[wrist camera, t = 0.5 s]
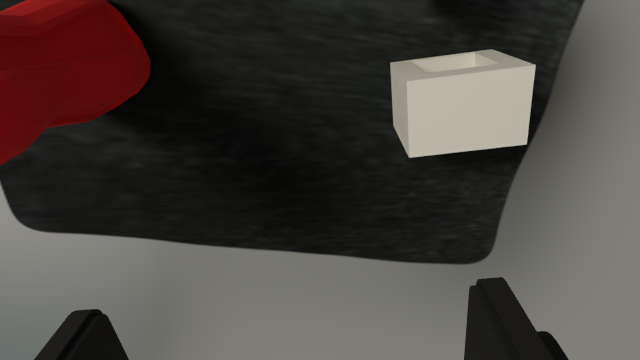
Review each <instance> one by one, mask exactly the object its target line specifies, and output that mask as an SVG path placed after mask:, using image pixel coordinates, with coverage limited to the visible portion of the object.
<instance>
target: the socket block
mask: <svg viewBox="0 0 640 360" xmlns="http://www.w3.org/2000/svg"><path fill="white" fill-rule="evenodd" d="M390 66H391V86H392V107H393V126H394V128H395V130H396V132H397V134H398V136H399V138H400V140H401V142H402V144H403V146H404V148H405V150H406V152H407V154H408V156H409V158H411V157H420V156H429V155H438V154H446V153H455V152H464V151H473V150H482V149H491V148H500V147H508V146H517V145H526V144H527V138H528V129H529V120H530V111H531V102H532V93H533V84H534V75H535V66H536V65H534V64H531V63H528V62H526V61H523V60H520V59H517V58H515V57H512V56H509V55H506V54H504V53H501V52H498V51H495V50H492V49H491V50H483V51H475V52H468V53H460V54H452V55H445V56H437V57H429V58H422V59H414V60H407V61H399V62H391V63H390Z"/></svg>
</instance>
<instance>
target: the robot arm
mask: <svg viewBox="0 0 640 360" xmlns="http://www.w3.org/2000/svg"><path fill="white" fill-rule="evenodd" d="M34 360H129V359H128V357H127V355H126V353H125V351H124V349H123V347H122V345H121V343H120V341H119V339H118V337H117V334H116V332H115V330H114V328H113V326H112V324H111V322H110V320H109V318H108V317H107V316H106V315H105V314H103V313H102V312H101V311H100V310H98V309H91V310H78V311H74V312H72V313H71V314H70V315H69V316H68V317H67V318H66V319H65V321H64V322H63V323H62V325H61V326H60V327H59V328H58V330H57V331H56V332H55V334H54V335H53V336H52V338H51V339H50V340H49V341H48V343H47V344H46V345H45V346H44V348H43V349H42V350H41V352H40V353H39V354H38V355H37V357H36V358H35V359H34ZM464 360H568V358H567V356H566V355H565V353H564V352H563V350H562V349H561V347H560V346H559V344H558V343H557V341H556V340H555V339H554V338H553V336H552V335H551V334H550V333H548V332H545V331H541V332H537V331H536V330H535V328H534V326H533V325H532V323H531V322H530V320H529V318H528V317H527V315H526V313H525V312H524V310H523V308H522V307H521V305H520V303H519V302H518V300H517V299H516V297H515V295H514V294H513V292H512V291H511V289H510V287H509V286H508V284H507V282H506V281H505V279H504V278H502V277H500V278H487V279H478V280H477V283H476V285H475V286H470V289H469V301H468V314H467V327H466V341H465V354H464Z"/></svg>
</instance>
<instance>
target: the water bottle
mask: <svg viewBox="0 0 640 360" xmlns="http://www.w3.org/2000/svg"><path fill="white" fill-rule="evenodd" d="M149 76H150V59H149V56H148V54H147V52H146V50H145V47H144V45H143V43H142V41H141V39H140V38H139V37H138V36H137V34H136V33H135V32H134V31H133V29H132V28H131V27H130V25H129V24H128V23H127V21H126V20H125V18H124V17H123V15H122V14H121V12H119V11H118V10H117V9H116V8H115V7H114V6H112V5H111V4H110V3H109V2H108V1H107V0H26V1H24V2H21V3H19V4H17V5H15V6H12V7H10V8H8V9H6V10H3V11H1V12H0V165H1V164H3V163H5V162H7V161H8V160H10V159H12V158H13V157H15V156H17V155H18V154H20V153H22V152H24V151H25V150H26V149H27V148H28V147H29V146H30V145H31V144H32V143H33V142H34V141H35V140H36V139H37V137H38V136H39V135H40V134H41V133H42V132H43V131H44V130H45V129H46V128H50V127H57V126H63V125H70V124H76V123H82V122H89V121H91V120H93V119H95V118H97V117H98V116H100V115H102V114H104V113H106V112H108V111H110V110H112V109H114V108H115V107H117V106H118V105H120V104H121V103H123V102H124V101H126V100H127V99H129V98H130V97H132V96H133V95H135V94H136V93H138V92H139V91H140V90H141V88H142V87H143V86H144V84H145V83H146V82H147V80H148V78H149Z"/></svg>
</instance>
